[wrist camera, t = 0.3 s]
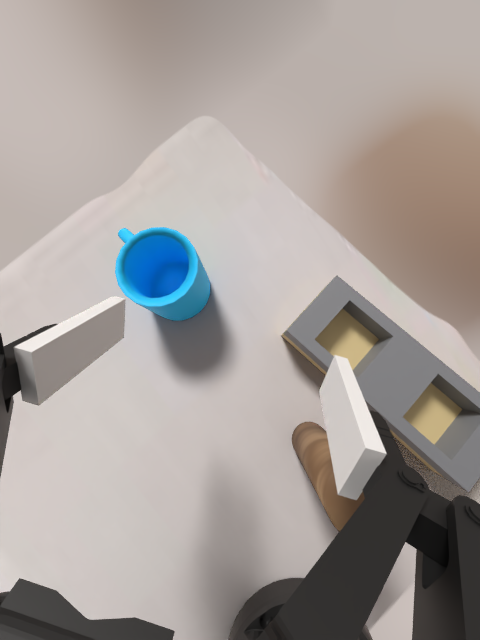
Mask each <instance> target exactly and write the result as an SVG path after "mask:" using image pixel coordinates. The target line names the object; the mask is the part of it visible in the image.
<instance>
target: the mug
mask: <svg viewBox="0 0 480 640" xmlns="http://www.w3.org/2000/svg"><path fill="white" fill-rule="evenodd" d="M118 236H119V237H120V238H121V239H122V240H123V241H124V242H125V245H124V246H123V247H122V248H121V250H120V253H119V255H118V258H117V260H116V270H115V274H116V278H117V281H118V285H119V287H120V288H121V290H122V291H123V293H124V294H125V295H126V296H127V297H128V298H130V299H131V300H132V301H134V302H135V303H137V304H139V305H141V306H143V307H144V308H146V309H148V310H150V311H152V312H154V313H156V314H157V315H159V316H161V317H163V318H166V319H169V320H172V321H178V320H186V319H189V318H192V317H193V316H195V315H196V314H198V313H199V312H201V310H202V309H203V308H204V306H205V305H206V304H207V301H208V299H209V296H210V281H209V278H208V275H207V273H206V271H205V269H204V267H203V265H202V263H201V261H200V259H199V257H198V254H197V252H196V250H195V248H194V247H193V245H192V244H191V243H190V241H189V240H188V239H187V237H185V236H184V235H182V234H181V233H179V232H178V231H176V230H172V229H169V228H165V227H159V228H150V229H146V230H143V231H140V232H139V233H137V234H136V235H133V234H132V233H131V232H130V231H129V230H128V229H126V228H123V229H121V230H120V231H119V233H118Z"/></svg>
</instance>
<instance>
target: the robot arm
mask: <svg viewBox="0 0 480 640" xmlns="http://www.w3.org/2000/svg"><path fill="white" fill-rule="evenodd" d="M124 322H125V299H124V298H120V297H116V296H112V297H110V298H109V299H107V300H105V301H103V302H101V303H99V304H97V305H95V306H93V307H91V308H89V309H87V310H85V311H83V312H81V313H79V314H77V315H75V316H73V317H71V318H69V319H67V320H66V321H64V322H62V323H60V324H53V325H49V326H45V327H43V328H40V329H38V330H36V331H35V332H32V333H30V334H28V335H27V336H24V337H22V338H20V339H18V340H16V341H14V342H12V343H10V344H8V345H6V346H4V347H3V342H2V337H1V333H0V476H1V471H2V465H3V459H4V454H5V448H6V442H7V437H8V431H9V425H10V420H11V414H12V409H13V403H14V401H13V395H14V394H16V393H17V392H19V391H20V390H21V394H22V400H23V401H25V402H29V403H32V404H35V405H40V404H41V403H43V402H44V401H45V400H46V399H48V398H49V397H50V396H51V395H53V394H54V393H55V392H56V391H58V390H59V389H60V388H61V387H63V386H64V385H65V384H66V383H68V382H69V381H70V380H71V379H73V378H74V377H75V376H76V375H78V374H79V373H80V372H81V371H83V370H84V369H85V368H86V367H88V366H89V365H90V364H91V363H93V362H94V361H95V360H96V359H98V358H99V357H100V356H101V355H103V354H104V353H105V352H106V351H108V350H109V349H110V348H111V347H113V346H114V345H115V344H116V343H118V342H119V341H120V340H121V339H122V338H124ZM319 394H320V399H321V405H322V410H323V416H324V421H325V427H326V432H327V438H328V443H329V449H330V454H331V460H332V465H333V471H334V476H335V482H336V487H337V493H338V495H340V496H344V497H347V498H350V499H354V500H357V499H358V498H359V496H360V494H361V493H362V491H363V493H364V497H365V499H364V500H363V502H362V503H361V504H360V506H359V507H358V508H357V510H356V511H355V512H354V514H353V515H352V516H351V518H350V519H349V520H348V522H347V523H346V524H345V526H344V527H343V528H342V529H341V531H340V532H339V533H338V535H337V536H336V537H335V539H334V540H333V541H332V543H331V544H330V545H329V547H328V548H327V549H326V551H325V552H324V553H323V555H322V556H321V557H320V559H319V560H318V561H317V562H316V564H315V565H314V566H313V568H312V569H311V570H310V572H309V573H308V574H307V576H306V577H305V578H289V579H283V580H279V581H276V582H273V583H271V584H269V585H267V586H265V587H263V588H262V589H260V590H259V591H258V592H256V593H255V594H254V595H253V596H252V597H251V598H250V599H249V600H248V601H247V602H246V603H245V605H244V606H243V607H242V609H241V610H240V612H239V614H238V615H237V617H236V619H235V621H234V624H233V626H232V629H231V632H230V635H229V640H372V638H371V635H370V633H369V631H368V628H367V626H366V624H365V623H366V621H367V619H368V617H369V615H370V613H371V611H372V609H373V607H374V605H375V603H376V601H377V599H378V597H379V595H380V592H381V590H382V588H383V586H384V584H385V582H386V580H387V578H388V576H389V574H390V572H391V570H392V568H393V566H394V564H395V562H396V560H397V558H398V556H399V554H400V552H401V550H402V548H403V546H404V544H405V542H407V543H408V544H410V545H411V546H413V547H414V548H416V549H417V553H416V573H415V593H414V614H413V634H412V640H480V504H479V503H477V502H476V501H474V500H472V499H470V498H468V497H465V496H460V495H459V496H457V497H455V498H454V499H453V500H452V501H449V500H447V499H445V498H443V497H442V496H440V495H438V494H436V493H434V492H432V491H431V490H429V488H428V486H427V483H426V482H425V481H424V479H423V478H422V477H421V475H419V474H418V473H417V472H416V471H415V470H414V469H412V468H411V467H409V466H407V465H406V463H405V461H404V459H403V457H402V454H401V452H400V450H399V448H398V446H397V444H396V442H395V440H394V439H393V438H394V437H393V435H392V433H391V432H390V429H389V427H388V425H387V423H386V421H385V420H384V419H383V417H382V416H381V415H380V414H379V413H378V412H375V411H371V410H368V407H367V405H366V402H365V400H364V397H363V395H362V392H361V390H360V388H359V385H358V383H357V380H356V378H355V375H354V373H353V371H352V368H351V366H350V363H349V361H348V358H344V357H340V356H337V355H334V358H333V360H332V362H331V365H330V367H329V369H328V372H327V374H326V376H325V379H324V381H323V383H322V386H321V388H320V390H319ZM174 632H175V631H173V630H170V629H167V628H164V627H161V626H158V625H155V624H153V623H150V622H147V621H144V620H141V619H138V618H121V619H102V620H89V619H87V618H85V617H84V616H83V615H82V614H81V613H80V612H79V611H78V610H77V609H75V608H74V607H73V606H72V605H71V604H70V603H69V602H68V601H67V600H66V599H65V598H64V597H63V596H62V595H61V594H59V593H58V592H57V591H56V590H53V589H50V588H47V587H44V586H41V585H38V584H35V583H32V582H29V581H26V580H23V579H20V578H19V580H18V581H17V582H16V584H15V585H14V587H13V588H12V589H11V591H10V592H3V593H0V640H172V639H173V636H174Z"/></svg>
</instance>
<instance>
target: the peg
mask: <svg viewBox="0 0 480 640" xmlns="http://www.w3.org/2000/svg"><path fill="white" fill-rule="evenodd" d="M292 444H293V447H294V449H295V451H296V453H297V455H298V457H299V459H300V461H301V463H302V465H303V467H304V469H305V471H306V473H307V475H308V477H309V479H310V481H311V483H312V485H313V487H314V489H315V490H316V492H317V494H318V496H319V498H320V500H321V502H322V504H323V506H324V508H325V510H326V512H327V514H328V516H329V518H330V520H331V522H332V523H333V525H334V526H335V528H336V529H337V530H338V531H339V532H340V531H341V529H342V528H343V527H344V526H345V524H346V523H347V522H348V520H349V519H350V518H351V516H352V515H353V514H354V512H355V511H356V510H357V508H358V507H359V506H360V504H361V503H362V502H363V500H364V499H365V497H364V493H363V491H362V493H361V494H360V496H359V498H358V499H357V500H354V499H350V498H347V497H344V496H340V495H338V493H337V487H336V482H335V476H334V471H333V465H332V460H331V454H330V449H329V443H328V438H327V432H326V431H325V430H324V429H323V428H322V427H321V426H319V425H318V424H316V423H313V422H304V423H301V424H300V425H298V426H297V427H296V428H295V430H294V432H293V435H292Z"/></svg>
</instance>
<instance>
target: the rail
mask: <svg viewBox="0 0 480 640" xmlns="http://www.w3.org/2000/svg"><path fill="white" fill-rule="evenodd" d="M281 336H282V337H283V338H285V339H286V340H287V341H288V342H289V343H290V344H291V345H292V346H293V347H295V348H296V349H297V350H298V351H299V352H300V353H301V354H302V355H303V356H305V357H306V358H307V359H308V360H309V361H310V362H311V363H312V364H314V365H315V366H316V367H317V368H318V369H319V370H320V371H321V372H322V373H324V374H325V375H326V374H327V372H328V369H329V367H330V365H331V362H332V360H333V358H334V355H337V356H340V357H344V358H348V361H349V363H350V366H351V368H352V371H353V373H354V375H355V378H356V380H357V383H358V385H359V388H360V390H361V392H362V395H363V397H364V400H365V402H366V405H367V407H368V410H371V411H375V412H378V413H379V414H380V415H381V416H382V417H383V419H384V420H385V421H386V423H387V425H388V427H389V429H390V432H391V433H392V435H393V436H394V437H395V438H396V439H397V440H398V441H399V442H400V443H402V444H403V445H404V446H405V447H406V448H407V449H408V450H409V451H410V452H412V453H413V454H414V455H415V456H416V457H417V458H418V459H419V460H421V461H422V462H423V463H424V464H425V465H426V466H427V467H428V468H429V469H431V470H432V471H433V472H435V473H437V474H438V475H440V476H442V477H444V478H445V479H447V480H449V481H450V482H452V483H454V484H455V485H457V486H459V487H461V488H462V489H464V490H466V491H467V492H469V491H470V490H471V489H472V487H473V486H474V485H475V483H476V482H477V481H478V479H479V478H480V392H478V391H477V390H476V389H475V388H473V387H472V386H471V385H470V384H469V383H467V382H466V381H465V380H464V379H463V378H461V377H460V376H459V375H458V374H456V373H455V372H454V371H453V370H452V369H450V368H449V367H448V366H447V365H445V364H444V363H443V362H442V361H441V360H439V359H438V358H437V357H436V356H435V355H433V354H432V353H431V352H430V351H428V350H427V349H426V348H425V347H424V346H422V345H421V344H420V343H419V342H417V341H416V340H415V339H414V338H413V337H411V336H410V335H409V334H408V333H407V332H405V331H404V330H403V329H402V328H400V327H399V326H398V325H397V324H396V323H394V322H393V321H392V320H391V319H389V318H388V317H387V316H386V315H385V314H383V313H382V312H381V311H380V310H379V309H377V308H376V307H375V306H374V305H372V304H371V303H370V302H369V301H368V300H366V299H365V298H364V297H363V296H362V295H360V294H359V293H358V292H357V291H355V290H354V289H353V288H352V287H351V286H349V285H348V284H347V283H346V282H344V281H343V280H342V279H341V278H340V277H338V276H336V277H335V278H334V279H333V280H332V281H331V282H330V283H329V284H328V285H327V286H326V287H325V288H324V289H323V290H322V291H321V292H320V293H319V295H318V296H317V297H316V298H315V299H314V300H313V301H312V302H311V303H310V304H309V306H308V307H307V308H306V309H305V310H304V311H303V312H302V313H301V314H300V315H299V317H298V318H297V319H296V320H295V321H294V322H293V323H292V324H291V325H290V326H289V327H288V329H287V330H286V331H285V332H284V333H283V334H282V335H281Z"/></svg>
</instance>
